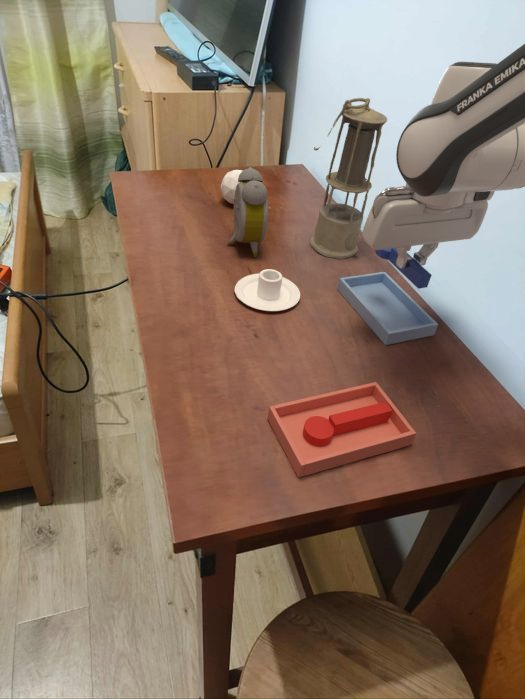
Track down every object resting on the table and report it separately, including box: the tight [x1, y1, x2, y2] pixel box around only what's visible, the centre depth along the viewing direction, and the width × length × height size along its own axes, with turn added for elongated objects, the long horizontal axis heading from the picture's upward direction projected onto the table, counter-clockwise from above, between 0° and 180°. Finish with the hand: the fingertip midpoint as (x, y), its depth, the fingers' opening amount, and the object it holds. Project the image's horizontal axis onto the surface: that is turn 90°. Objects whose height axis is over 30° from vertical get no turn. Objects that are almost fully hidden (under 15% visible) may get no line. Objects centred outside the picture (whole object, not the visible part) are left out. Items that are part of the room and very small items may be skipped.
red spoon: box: [303, 402, 392, 446], centre depth 69 cm, size 13×4×2 cm, turn 112°
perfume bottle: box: [220, 169, 244, 205], centre depth 120 cm, size 8×8×12 cm
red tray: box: [267, 381, 417, 478], centre depth 69 cm, size 17×10×2 cm, turn 112°
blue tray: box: [336, 271, 439, 346], centre depth 92 cm, size 17×10×2 cm, turn 22°
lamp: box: [309, 97, 388, 260], centre depth 100 cm, size 10×13×30 cm
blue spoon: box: [374, 248, 432, 290], centre depth 85 cm, size 13×4×2 cm, turn 22°
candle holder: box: [233, 268, 301, 312], centre depth 92 cm, size 12×12×4 cm
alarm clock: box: [226, 166, 269, 258], centre depth 102 cm, size 12×7×15 cm, turn 9°
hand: (410, 265), depth 84 cm, fingers closed on blue spoon, 2 cm apart
